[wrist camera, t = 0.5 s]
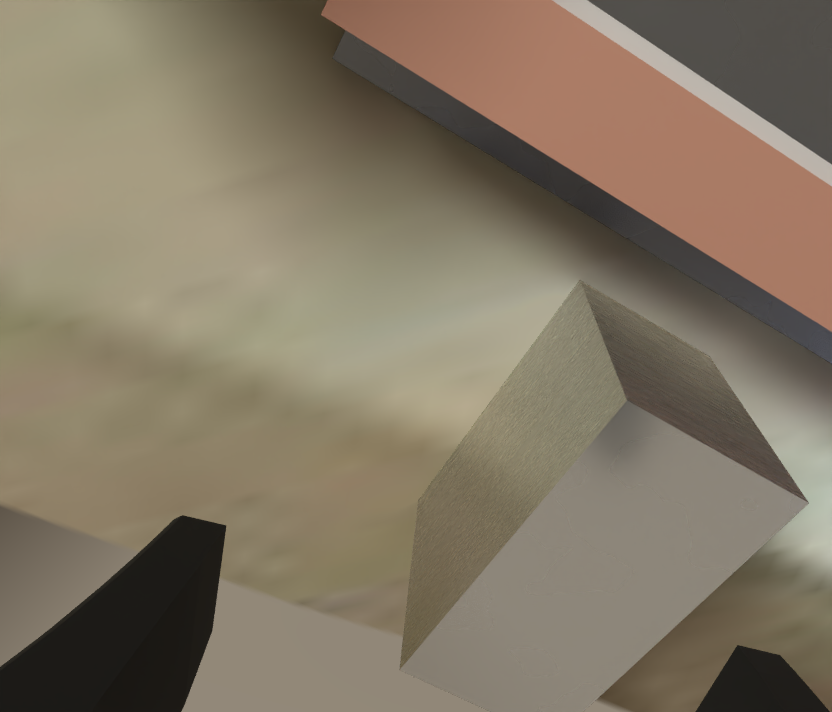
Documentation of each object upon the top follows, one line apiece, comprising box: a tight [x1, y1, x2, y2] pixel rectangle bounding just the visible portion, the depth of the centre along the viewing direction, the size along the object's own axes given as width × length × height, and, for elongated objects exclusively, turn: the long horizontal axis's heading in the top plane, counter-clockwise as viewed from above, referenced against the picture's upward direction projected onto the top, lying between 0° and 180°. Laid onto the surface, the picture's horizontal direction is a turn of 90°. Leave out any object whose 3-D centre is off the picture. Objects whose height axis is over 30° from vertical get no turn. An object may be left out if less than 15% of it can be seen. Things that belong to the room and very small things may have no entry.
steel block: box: [400, 280, 809, 712], centre depth 17 cm, size 4×8×6 cm, turn 150°
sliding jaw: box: [321, 0, 832, 332], centre depth 14 cm, size 17×2×3 cm, turn 60°
